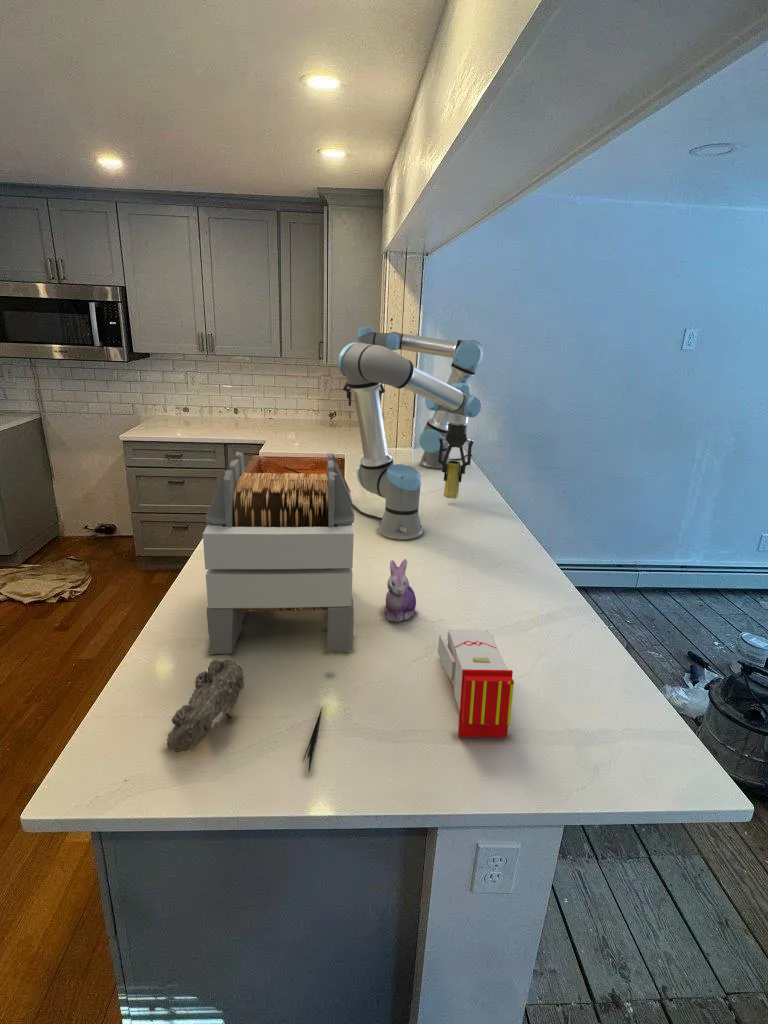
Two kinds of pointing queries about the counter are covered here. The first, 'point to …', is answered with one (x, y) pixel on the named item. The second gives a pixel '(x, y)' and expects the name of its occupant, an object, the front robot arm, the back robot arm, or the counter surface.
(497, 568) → the counter surface
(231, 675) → the fossil
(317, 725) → the feather
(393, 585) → the figurine
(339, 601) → the record storage crate
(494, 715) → the toy
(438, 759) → the counter surface
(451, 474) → the olive drinking cup
